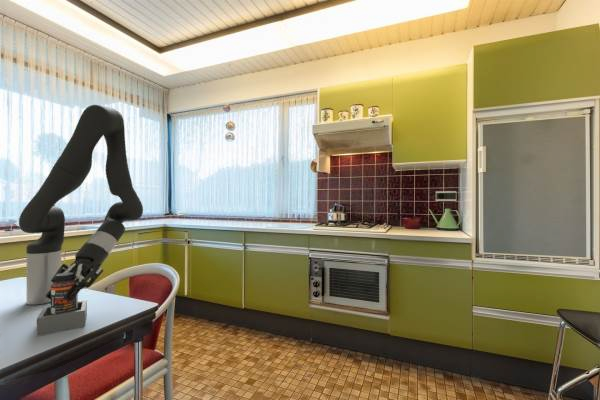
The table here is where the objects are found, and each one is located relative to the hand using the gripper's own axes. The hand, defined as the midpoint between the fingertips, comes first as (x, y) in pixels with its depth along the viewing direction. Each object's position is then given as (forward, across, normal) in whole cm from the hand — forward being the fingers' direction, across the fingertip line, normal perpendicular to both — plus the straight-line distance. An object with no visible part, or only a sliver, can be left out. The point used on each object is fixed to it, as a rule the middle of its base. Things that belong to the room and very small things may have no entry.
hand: (58, 298), depth 79 cm
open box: (+4, 0, +7) cm, 8 cm away
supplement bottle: (+2, 0, +5) cm, 5 cm away
